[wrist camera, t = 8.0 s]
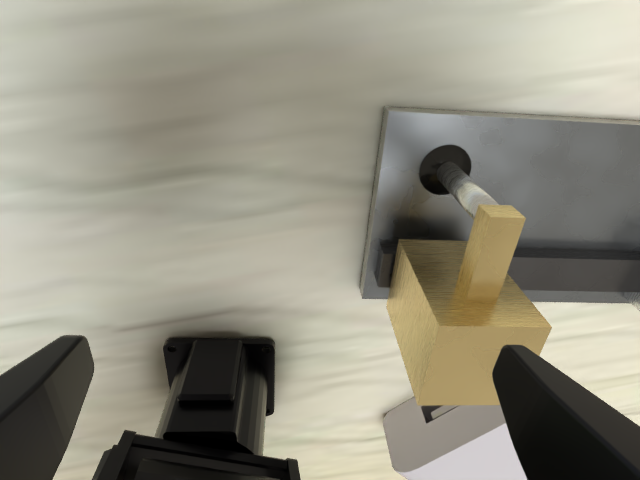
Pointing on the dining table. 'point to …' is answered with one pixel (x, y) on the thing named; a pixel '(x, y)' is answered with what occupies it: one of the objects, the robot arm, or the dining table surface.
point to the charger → (451, 442)
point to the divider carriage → (461, 302)
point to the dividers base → (515, 197)
